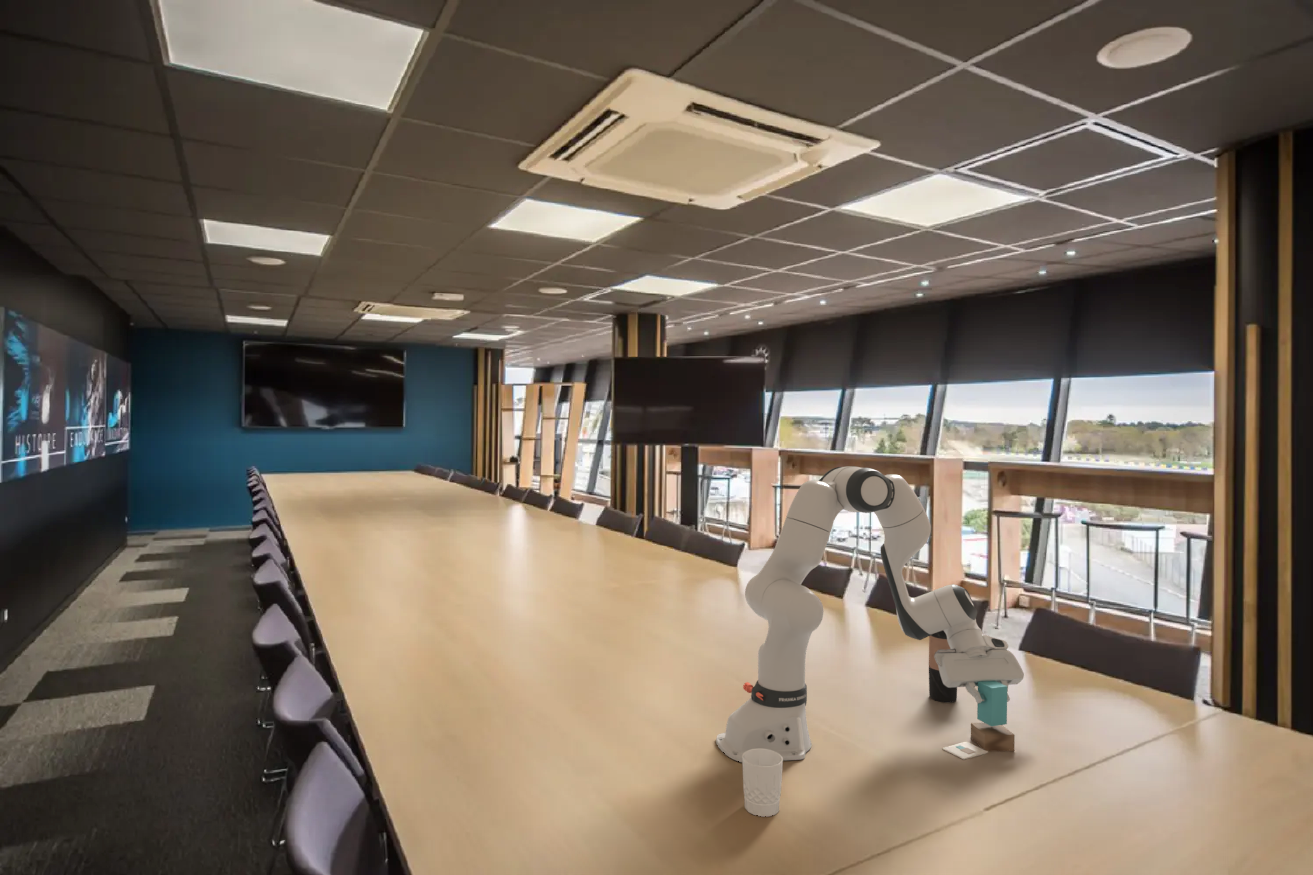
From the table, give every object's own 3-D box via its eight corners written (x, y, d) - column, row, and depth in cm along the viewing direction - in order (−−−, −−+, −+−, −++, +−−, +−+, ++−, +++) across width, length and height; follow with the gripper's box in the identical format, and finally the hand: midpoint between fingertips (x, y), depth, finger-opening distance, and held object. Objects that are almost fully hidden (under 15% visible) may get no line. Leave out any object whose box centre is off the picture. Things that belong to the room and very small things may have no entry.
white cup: (777, 797, 142) (778, 748, 142) (786, 818, 134) (786, 766, 134) (738, 797, 142) (739, 748, 142) (745, 819, 134) (745, 766, 134)
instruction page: (963, 759, 159) (963, 757, 159) (942, 749, 165) (942, 747, 165) (987, 752, 163) (987, 751, 163) (965, 742, 168) (965, 740, 168)
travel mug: (940, 704, 193) (940, 631, 193) (922, 694, 200) (923, 624, 200) (963, 701, 195) (964, 629, 195) (945, 691, 202) (946, 622, 202)
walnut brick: (984, 751, 164) (985, 734, 164) (970, 739, 171) (970, 722, 171) (1014, 751, 164) (1014, 734, 164) (999, 738, 171) (999, 722, 171)
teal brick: (991, 726, 165) (992, 688, 165) (977, 718, 169) (977, 681, 169) (1006, 724, 166) (1007, 686, 166) (992, 716, 171) (992, 679, 171)
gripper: (936, 643, 173) (959, 697, 163) (1012, 640, 176) (1038, 693, 166) (926, 656, 177) (948, 709, 168) (1000, 653, 181) (1025, 705, 171)
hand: (994, 701), depth 167 cm, fingers closed on teal brick, 5 cm apart
